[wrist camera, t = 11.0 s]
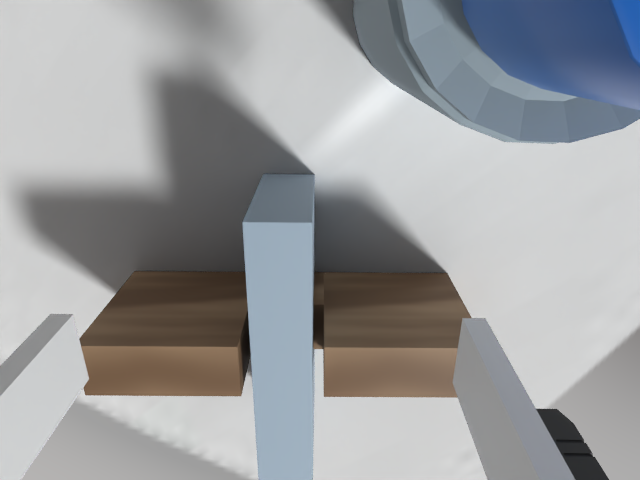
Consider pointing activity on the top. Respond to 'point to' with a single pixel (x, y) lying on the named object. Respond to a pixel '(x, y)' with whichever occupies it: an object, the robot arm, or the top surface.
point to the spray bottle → (512, 62)
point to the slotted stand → (234, 340)
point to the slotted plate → (282, 322)
